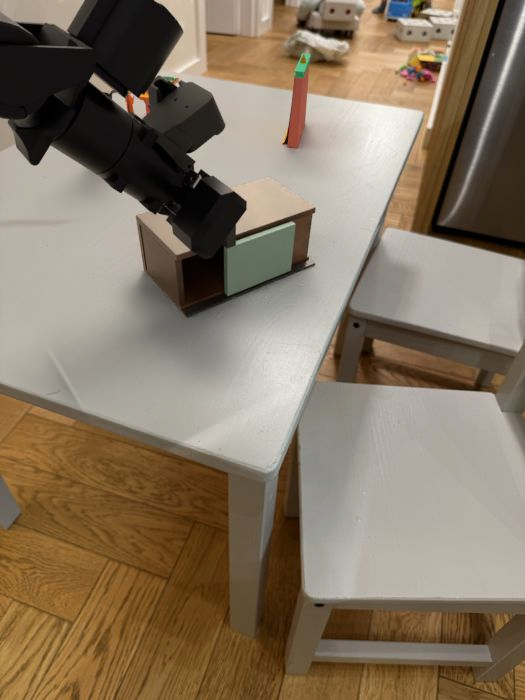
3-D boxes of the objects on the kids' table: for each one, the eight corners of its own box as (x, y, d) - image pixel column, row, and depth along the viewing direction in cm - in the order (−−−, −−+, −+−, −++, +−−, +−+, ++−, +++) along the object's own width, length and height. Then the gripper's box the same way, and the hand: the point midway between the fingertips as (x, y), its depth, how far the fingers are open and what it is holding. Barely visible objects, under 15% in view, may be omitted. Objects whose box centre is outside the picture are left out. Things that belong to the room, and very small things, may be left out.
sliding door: (227, 297, 61) (226, 200, 52) (223, 292, 62) (221, 196, 53) (291, 271, 66) (301, 177, 57) (286, 267, 66) (295, 174, 57)
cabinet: (186, 317, 59) (182, 261, 53) (143, 270, 65) (135, 215, 60) (315, 264, 68) (322, 211, 62) (266, 227, 74) (269, 176, 68)
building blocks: (297, 148, 95) (305, 65, 85) (122, 127, 98) (109, 45, 88) (305, 123, 104) (312, 46, 94) (143, 105, 107) (134, 29, 97)
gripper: (226, 91, 35) (324, 196, 47) (114, 29, 45) (219, 129, 58) (138, 222, 37) (255, 289, 50) (50, 134, 47) (165, 208, 60)
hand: (222, 222), depth 54 cm, fingers closed, pressing on sliding door
